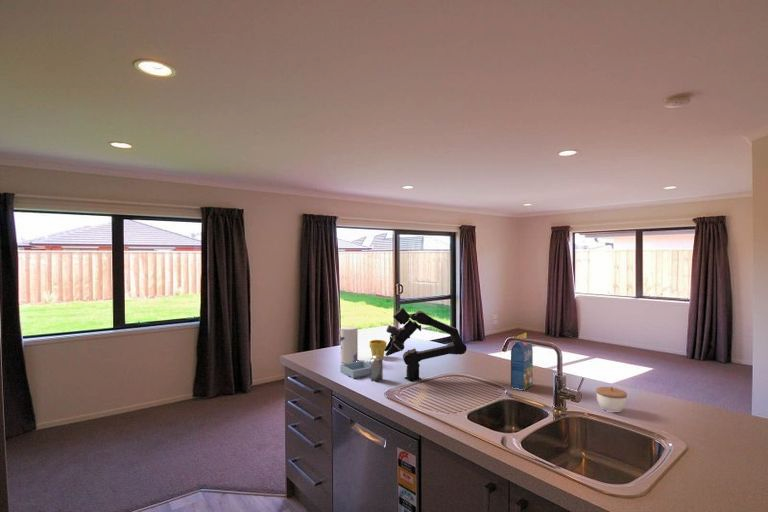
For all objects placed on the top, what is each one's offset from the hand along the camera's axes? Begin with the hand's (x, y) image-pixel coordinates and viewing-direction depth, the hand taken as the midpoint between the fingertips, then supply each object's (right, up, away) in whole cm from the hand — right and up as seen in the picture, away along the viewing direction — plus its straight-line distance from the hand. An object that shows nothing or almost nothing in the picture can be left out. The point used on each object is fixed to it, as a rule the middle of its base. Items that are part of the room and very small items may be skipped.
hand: (385, 353), depth 197 cm
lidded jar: (+91, -14, -39) cm, 100 cm away
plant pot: (-4, -13, +43) cm, 45 cm away
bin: (-14, -13, +11) cm, 22 cm away
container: (-21, -13, +34) cm, 42 cm away
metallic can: (-4, -13, -1) cm, 14 cm away
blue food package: (+65, -13, -11) cm, 67 cm away
